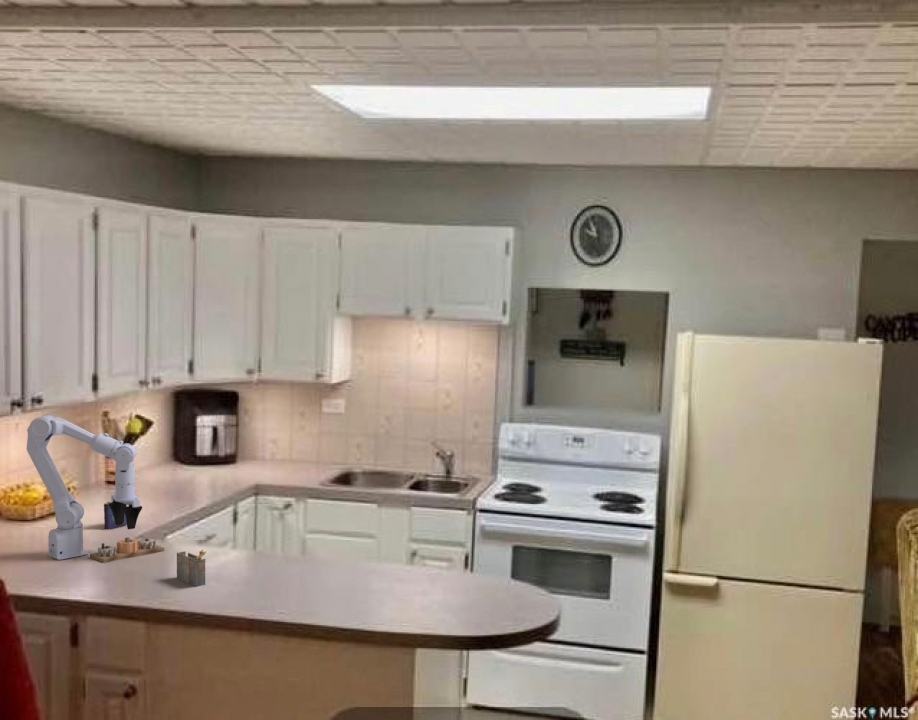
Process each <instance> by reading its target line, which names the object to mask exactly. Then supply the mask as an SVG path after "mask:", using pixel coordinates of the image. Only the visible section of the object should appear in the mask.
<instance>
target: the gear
mask: <svg viewBox="0 0 918 720" xmlns="http://www.w3.org/2000/svg"><path fill="white" fill-rule="evenodd" d="M138 541H139V540H138V539H136V538H130V542H125V538H124V539H119V540H118V541H116V549H117V552H120V553H131V552H136V551H137V550H138Z"/></svg>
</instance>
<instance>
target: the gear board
mask: <svg viewBox="0 0 918 720" xmlns="http://www.w3.org/2000/svg"><path fill="white" fill-rule="evenodd" d="M124 539H125V542H130V539H131V538H130V537H124ZM156 541H157V540H156V539H151V538H145V539H143V538H142V539H141V540H138V550H137V551H136V552H131V553H120V552H117V546H112V545H105V543H103V542H102V543H101V547H98V549H97V552H93V553H89V558H91V559H92V560H96V561H98V562H101V563H107V562H108V563H109V562H114V561H119V560H125V559H129V558H134V557H140V556H145V555H150V553H151V554H155V553H161V552H164V551H165V547H163V546H160V545H158V544H157V542H156ZM160 551H161V552H160Z"/></svg>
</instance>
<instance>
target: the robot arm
mask: <svg viewBox="0 0 918 720" xmlns="http://www.w3.org/2000/svg"><path fill="white" fill-rule="evenodd" d="M26 432H27V438H26V439H27V440H26V441H27V442H26V452H27V453H28V456H29V458H30V459H31V461H32V464H33V465H34V467H35V469H36V472H37V473H38V475H39V477H40V479H41V480H42V482H43V483H42V484H44V486H45V488H46V490H47V492H48V494H49V496H50V498H51V500H52V503H53V504H52V506H53V511H54V512H55V522H56V523H57V527H55V528H53V529H50V530H49V532H48V535H47V536H48V537H47V538H48V539H47V540H48V542H47V543H48V553H47V556H49V557H51V558H53V559H55V560H59V561H61V560H65V559H66V560H67V559H71V558H77V557H82V556H88V555H89V552H87V551H85V550H84V532H83V531H84V527H83V526H84V525H83V522H82V518H83V517H84V515H85V510H84V506H83V505H82V504H80V503H79V502H78V501H77V500H76V498H75V496H73V494H71V493H70V491H69V489H68V488H67V486H66V483H65V482H64V480H63V478H62V476H61V474H60V472H59V470H58V469H57V466H56V465H55V462H54V460H53V459H52V457H51V455H50V453H49V451H48V449H47V448H48V447H47V446H48V445H49V442H50V440H51V438H52V436H60V435H62V436H63V435H66V436H69V437H71V438H74V439H76V440H78V441H81V442H84V443H86V444H88V445H89V446H90V448H91V450H92V451H94V452H96V453H98V454H101V455H103V456H105V457H107V458H110V459H113V461H114V463H115V469H114V470H115V475H114V476H115V479H114V480H115V481H114V482H115V483H114V485H115V487H114V489H115V491H114V492H115V493H114V494H113V493H112V494H111V495H110V501H113V503H109V504H108V505H109V507H110V508H111V510H112V513H113V516H114V520H115V524H116V525H122V524H123V522H124V513H125V516H126V523H127V524H126V528H127V530H134V529H136V526H137V521H138V518H139V515H140V513H141V511H142V509H143V506H141V504H140V500H139V496H138V495H136V480H135V479H136V471H135V470H136V469H135V466H136V465H135V458H136V456H137V450H136V448H135V447H134V445H132V444H131V443H129V442H128V443H127V442H126V443H125V442H124V440H117V439H115V438H113V437H111V436H110V434H109V433H107V432H105V433H101V432H100V433H97V434H95V433H92V432H89V431H88V430H86V429H84V428H82V427H80V426H79V425H76V424H74V423H72V422H70V420H69V421H68V420H66V419H64V418H63V417H59V416H55V415H54V414H52V413H51V414H49V413H47V414H44V415H42V416H39V417H36V418H34V419H33V420H31V422H30V424H29V425H28V427H27V429H26ZM127 505H128V506H127Z"/></svg>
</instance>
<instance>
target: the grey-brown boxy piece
mask: <svg viewBox="0 0 918 720" xmlns="http://www.w3.org/2000/svg"><path fill="white" fill-rule="evenodd" d="M186 554H187V555H186ZM205 555H206V551H204V549H201V550H200V551H199V555H196V554H194V553H191V552H188V553H186V551H179V552H176V579H178V580H180V581H183V582H185V583H187V584H189V585H192V586H194V587H203V586H205V585H206V558H202V557H203V556H205Z"/></svg>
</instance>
